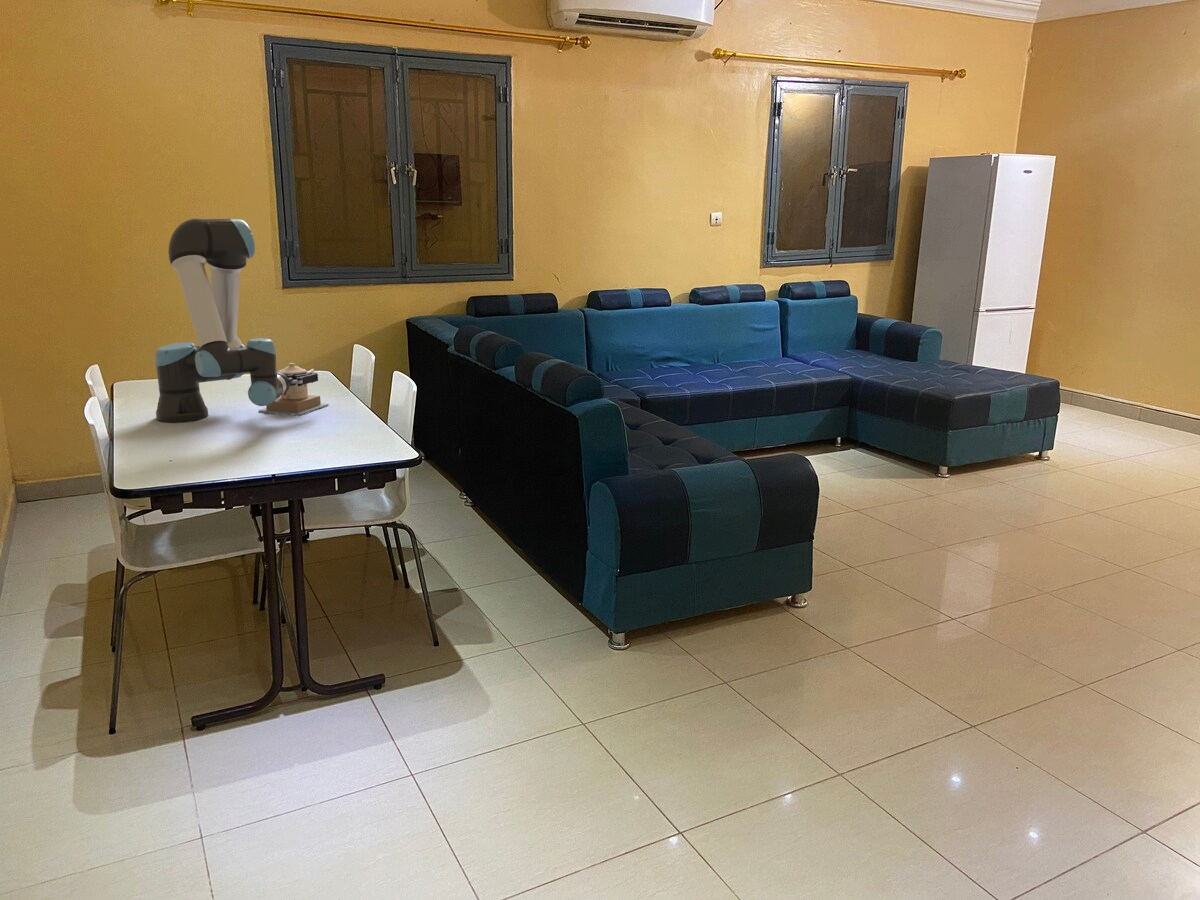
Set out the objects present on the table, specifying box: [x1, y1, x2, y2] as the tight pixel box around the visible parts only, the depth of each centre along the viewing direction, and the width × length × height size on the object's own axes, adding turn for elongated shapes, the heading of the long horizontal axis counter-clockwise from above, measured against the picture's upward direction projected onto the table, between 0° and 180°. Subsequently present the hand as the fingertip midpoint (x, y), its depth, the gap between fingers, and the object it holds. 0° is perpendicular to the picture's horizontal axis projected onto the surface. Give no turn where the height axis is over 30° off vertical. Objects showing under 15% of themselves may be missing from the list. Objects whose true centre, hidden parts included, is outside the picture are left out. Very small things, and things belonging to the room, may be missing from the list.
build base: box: [258, 394, 329, 416], centre depth 294 cm, size 16×16×4 cm
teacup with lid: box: [278, 362, 309, 400], centre depth 292 cm, size 12×9×12 cm
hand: (292, 373), depth 292 cm, fingers open, 13 cm apart
